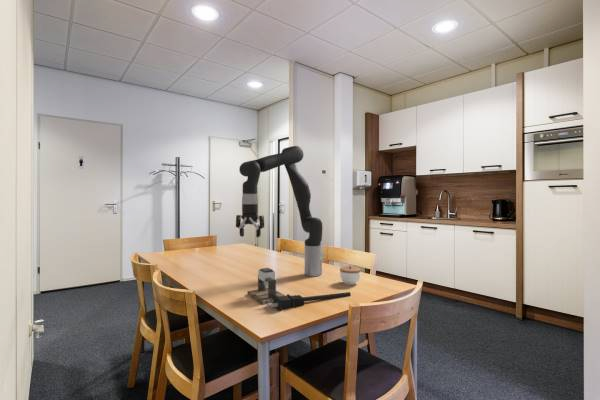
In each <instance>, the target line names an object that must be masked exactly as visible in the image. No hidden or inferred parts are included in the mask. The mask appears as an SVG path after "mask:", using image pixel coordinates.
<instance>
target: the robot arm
mask: <svg viewBox="0 0 600 400" xmlns="http://www.w3.org/2000/svg"><path fill="white" fill-rule="evenodd" d="M303 159H304V151H303V149H302V148H301V146H298V145H293V146H288V147H285V148H283V149H282V150H281V152H279V153H275V154H271V155H267V156H264V157H260V158H257V159H253V160H248V161H244V162H243V163H241V164H240V166H239V173H240V174H241V176H242V177H243V176H244V177H247V179H246V180H245V181H243V183H242V196H241V214H236V215H235V216H236V217H235V228H238V229H239V236H240V237H245V227H246V225H253V227H255V229H256V231H255V237H256V238H260V236H261V235H262V233H261V232H262V231H261V230H262V229H264V228H265V216H264V215H258V212H259V211H258V210H259V207H258V206H259V205H258V204H259V198H258V197H259V196H258V184H259V180H260V176H261V173H264V172H268V171H271V170H273V169H275V168H279V167H280V166H284V168H285V170H286V172H287V175H288V178H289V182H290V185H291V187H292V188H291V189H292V192H293V195H294V198H295V202H296V204H297V205H296V206H297V209H298V214H299V218H300V224H301V227H302V230H303V231H304V232H305V233H308V234H309V235H308V238H307V239H305V240H304V275H305V276H306V277H319V276H321V275H323V258H322V257H321V242H322V240H323V239H322V238H323V222H322V220H321V219H320V217H319V218H318V217H314V216H312V213H311V209H310V204H311V197H312V196H311V195H312V194H311V189H310V186H309V183H308V181H307V180H306V179H305V177H304V176H302V174H301V173H300V172H299V170H298V168H297V165H296V163H300V162H301V161H302V160H303Z"/></svg>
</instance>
